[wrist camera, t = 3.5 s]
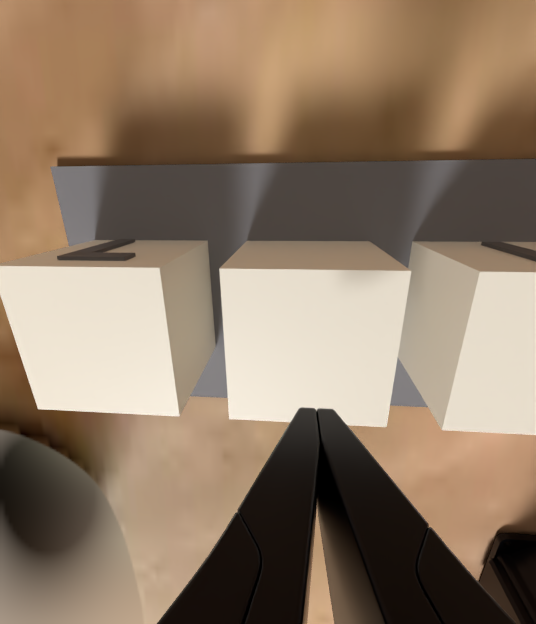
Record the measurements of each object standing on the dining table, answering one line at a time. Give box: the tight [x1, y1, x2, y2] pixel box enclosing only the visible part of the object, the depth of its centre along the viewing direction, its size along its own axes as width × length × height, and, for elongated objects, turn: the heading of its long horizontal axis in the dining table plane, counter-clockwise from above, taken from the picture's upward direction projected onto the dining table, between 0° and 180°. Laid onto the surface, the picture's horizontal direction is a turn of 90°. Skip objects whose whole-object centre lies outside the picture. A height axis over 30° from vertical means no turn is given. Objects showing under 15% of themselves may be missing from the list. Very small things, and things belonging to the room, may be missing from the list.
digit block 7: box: [0, 239, 216, 416], centre depth 14 cm, size 6×6×6 cm
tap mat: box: [51, 159, 536, 407], centre depth 17 cm, size 25×13×1 cm, turn 91°
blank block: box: [219, 241, 411, 427], centre depth 14 cm, size 6×6×6 cm
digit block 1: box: [398, 241, 536, 435], centre depth 13 cm, size 6×6×6 cm
